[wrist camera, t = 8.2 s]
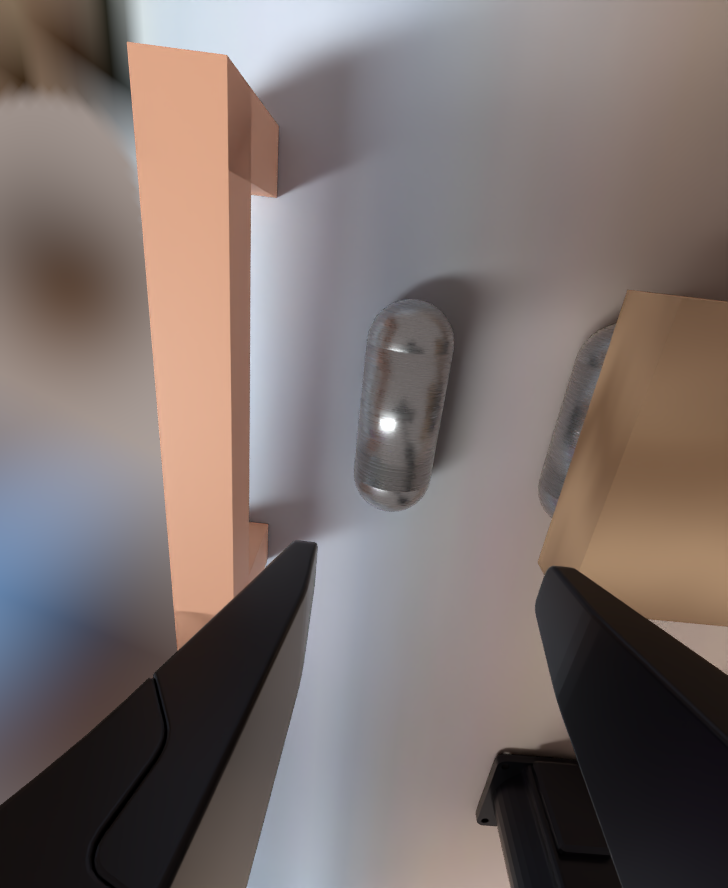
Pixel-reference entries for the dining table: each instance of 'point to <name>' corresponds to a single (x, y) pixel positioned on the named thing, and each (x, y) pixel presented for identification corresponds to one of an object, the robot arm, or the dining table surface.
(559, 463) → the roller
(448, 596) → the dining table surface
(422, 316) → the roller
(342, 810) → the dining table surface
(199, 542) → the bar
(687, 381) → the slab
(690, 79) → the dining table surface
